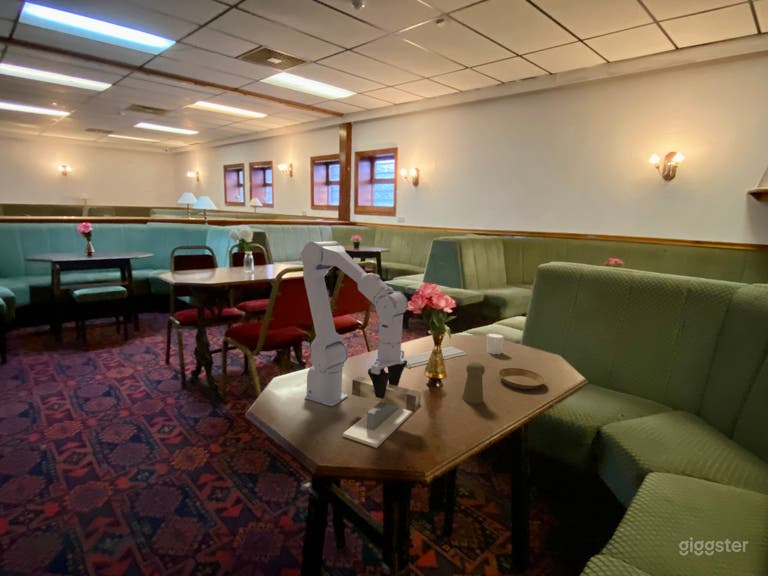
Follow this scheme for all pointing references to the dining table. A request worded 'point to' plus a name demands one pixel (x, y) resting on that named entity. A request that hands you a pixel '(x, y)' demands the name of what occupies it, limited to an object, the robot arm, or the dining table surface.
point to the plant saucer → (514, 372)
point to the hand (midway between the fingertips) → (386, 392)
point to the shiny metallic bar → (387, 394)
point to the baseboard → (423, 357)
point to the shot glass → (494, 343)
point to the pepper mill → (474, 383)
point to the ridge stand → (377, 424)
